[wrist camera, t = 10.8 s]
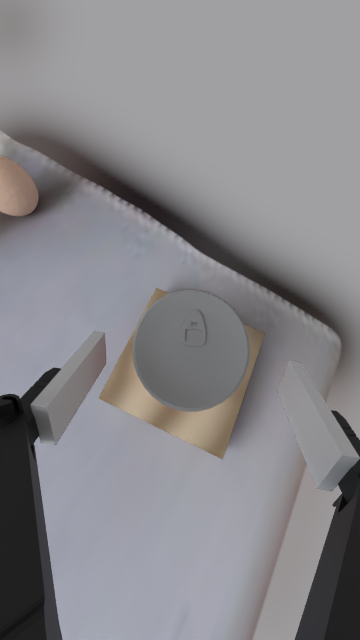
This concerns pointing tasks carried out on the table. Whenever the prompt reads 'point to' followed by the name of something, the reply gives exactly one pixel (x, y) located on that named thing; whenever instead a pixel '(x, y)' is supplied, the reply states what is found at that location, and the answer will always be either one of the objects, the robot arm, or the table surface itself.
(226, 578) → the table surface
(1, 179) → the egg
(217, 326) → the canned food
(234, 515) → the table surface
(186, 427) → the maple stand
